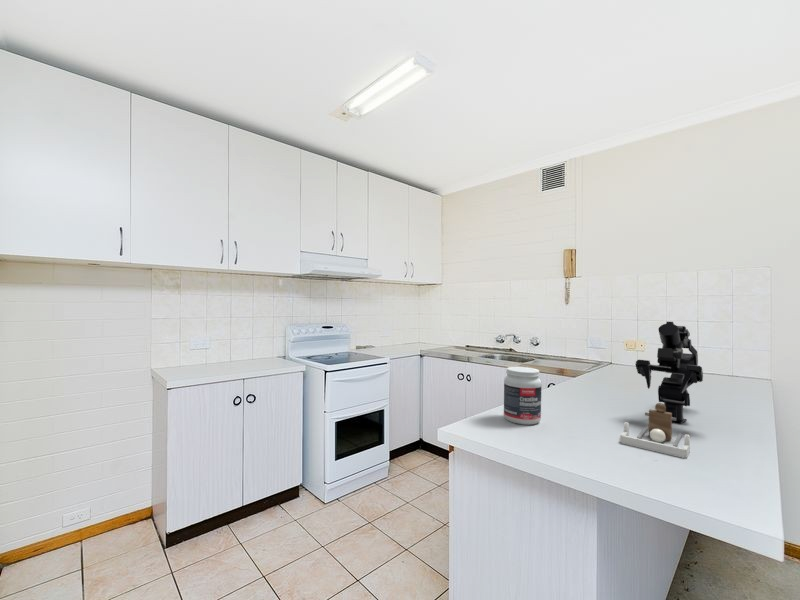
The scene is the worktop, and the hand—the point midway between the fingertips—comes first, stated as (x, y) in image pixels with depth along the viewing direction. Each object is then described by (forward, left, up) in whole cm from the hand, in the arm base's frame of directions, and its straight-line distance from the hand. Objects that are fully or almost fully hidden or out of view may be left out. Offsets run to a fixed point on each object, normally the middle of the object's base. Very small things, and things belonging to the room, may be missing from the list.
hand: (664, 390), depth 127 cm
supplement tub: (+30, -34, -14) cm, 48 cm away
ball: (+16, +4, -11) cm, 20 cm away
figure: (+12, +3, -13) cm, 17 cm away
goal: (+23, +5, -14) cm, 27 cm away
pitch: (+15, +3, -14) cm, 20 cm away
